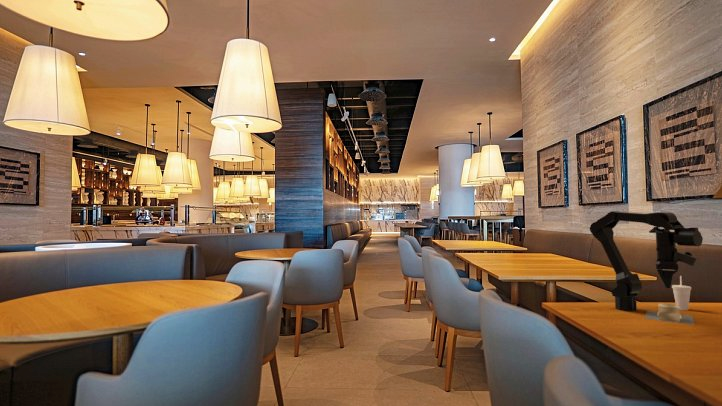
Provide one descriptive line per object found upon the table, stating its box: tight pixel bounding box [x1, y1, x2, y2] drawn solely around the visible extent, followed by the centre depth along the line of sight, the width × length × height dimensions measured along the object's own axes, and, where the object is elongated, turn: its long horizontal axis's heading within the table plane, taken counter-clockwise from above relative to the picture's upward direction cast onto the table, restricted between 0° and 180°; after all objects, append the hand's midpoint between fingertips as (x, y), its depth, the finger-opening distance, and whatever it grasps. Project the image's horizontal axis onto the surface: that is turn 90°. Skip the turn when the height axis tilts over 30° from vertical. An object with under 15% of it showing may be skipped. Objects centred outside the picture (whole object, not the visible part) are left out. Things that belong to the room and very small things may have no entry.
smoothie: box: [671, 275, 692, 311], centre depth 157 cm, size 6×6×14 cm
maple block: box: [657, 302, 681, 322], centre depth 139 cm, size 6×6×5 cm
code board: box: [644, 310, 695, 326], centre depth 141 cm, size 14×15×1 cm
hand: (668, 286), depth 140 cm, fingers open, 9 cm apart
